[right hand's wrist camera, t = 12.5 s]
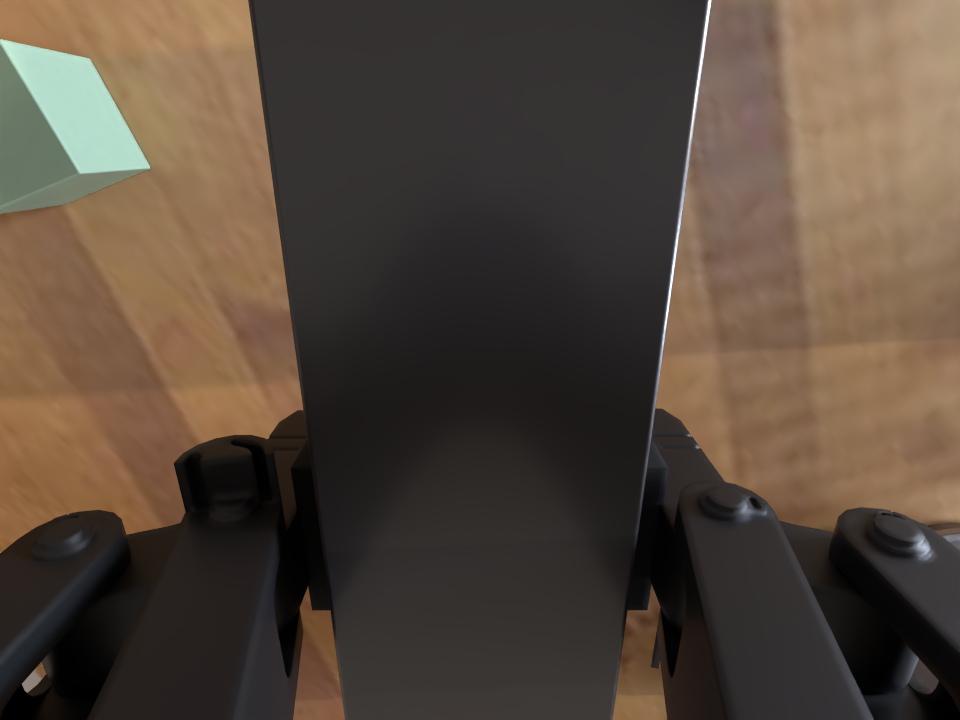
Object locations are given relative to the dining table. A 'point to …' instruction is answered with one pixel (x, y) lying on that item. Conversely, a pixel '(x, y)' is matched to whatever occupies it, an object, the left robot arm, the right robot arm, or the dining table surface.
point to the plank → (479, 327)
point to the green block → (58, 130)
